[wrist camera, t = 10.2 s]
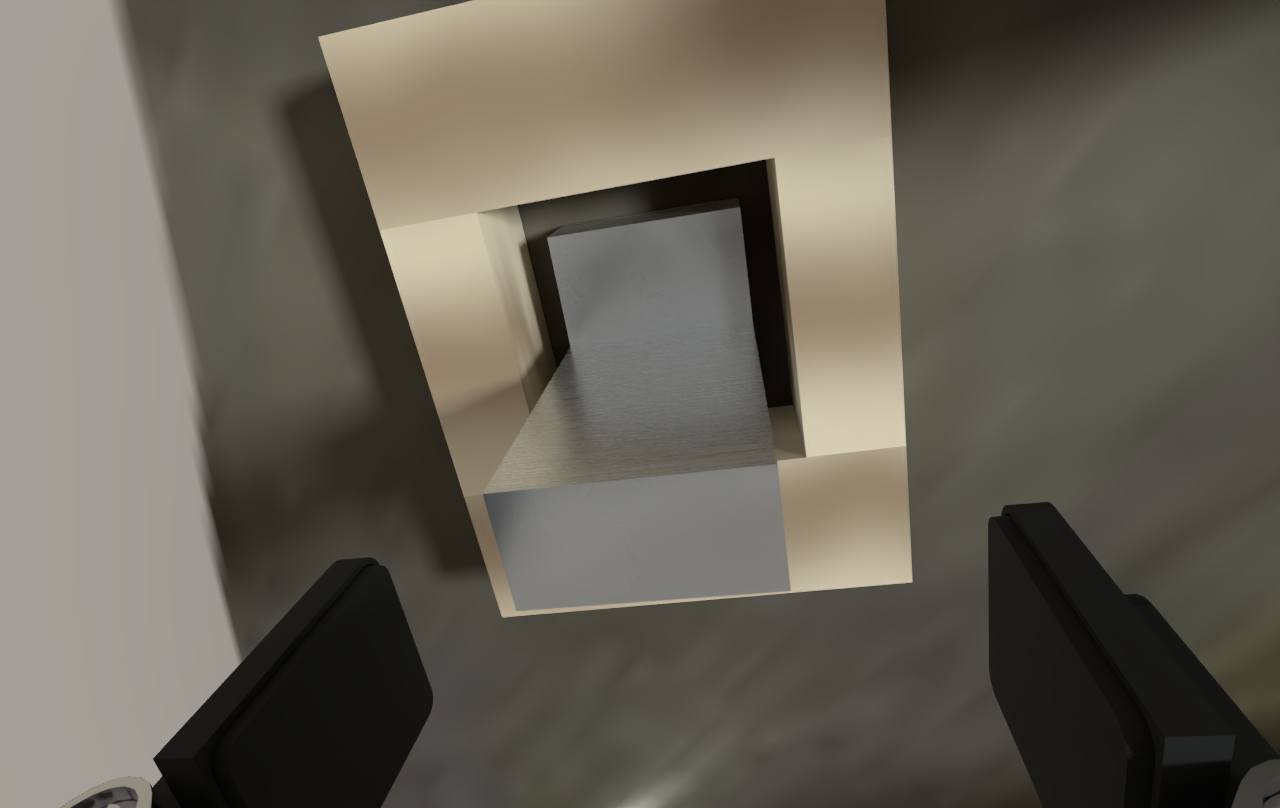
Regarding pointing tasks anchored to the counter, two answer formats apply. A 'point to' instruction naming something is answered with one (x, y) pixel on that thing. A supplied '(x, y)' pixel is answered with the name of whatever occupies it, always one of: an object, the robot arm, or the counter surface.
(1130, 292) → the counter surface
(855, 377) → the block
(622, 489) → the bracket
